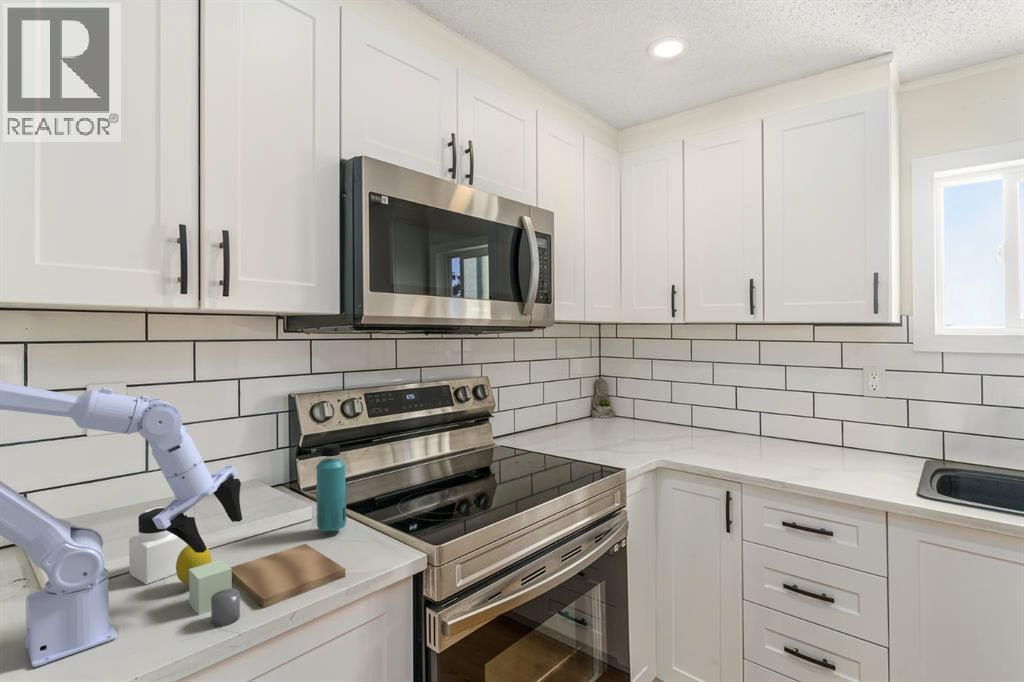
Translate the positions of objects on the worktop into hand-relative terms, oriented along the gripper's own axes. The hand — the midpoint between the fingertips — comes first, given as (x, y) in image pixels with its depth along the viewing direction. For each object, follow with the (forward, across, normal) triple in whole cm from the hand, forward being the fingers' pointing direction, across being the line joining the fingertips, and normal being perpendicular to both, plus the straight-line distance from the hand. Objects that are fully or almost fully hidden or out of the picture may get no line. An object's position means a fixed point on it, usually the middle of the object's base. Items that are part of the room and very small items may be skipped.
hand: (219, 535), depth 90 cm
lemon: (+9, -2, +10) cm, 14 cm away
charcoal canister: (+10, -8, -4) cm, 13 cm away
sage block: (+10, -5, +2) cm, 11 cm away
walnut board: (+15, +6, -2) cm, 16 cm away
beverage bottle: (+20, +24, +5) cm, 32 cm away
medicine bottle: (+8, -1, +21) cm, 22 cm away
